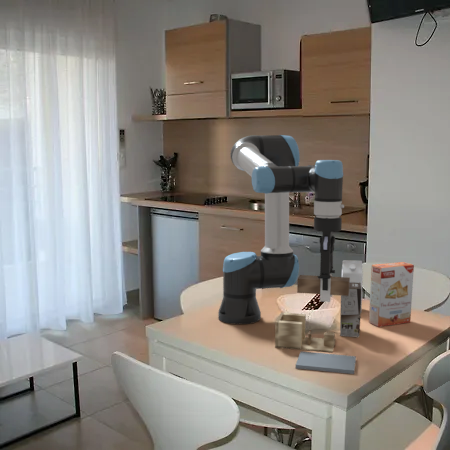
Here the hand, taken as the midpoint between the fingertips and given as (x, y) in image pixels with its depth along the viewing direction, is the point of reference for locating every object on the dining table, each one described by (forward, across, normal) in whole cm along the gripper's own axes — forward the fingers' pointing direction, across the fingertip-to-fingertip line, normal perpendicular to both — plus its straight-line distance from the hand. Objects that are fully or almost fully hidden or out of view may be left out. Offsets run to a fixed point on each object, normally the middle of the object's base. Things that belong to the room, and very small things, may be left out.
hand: (326, 298), depth 166 cm
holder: (+19, +15, +7) cm, 25 cm away
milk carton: (+19, +56, -5) cm, 59 cm away
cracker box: (+19, +44, -18) cm, 51 cm away
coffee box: (+19, +30, -6) cm, 36 cm away
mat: (+19, 0, 0) cm, 19 cm away
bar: (-2, 0, +1) cm, 2 cm away
